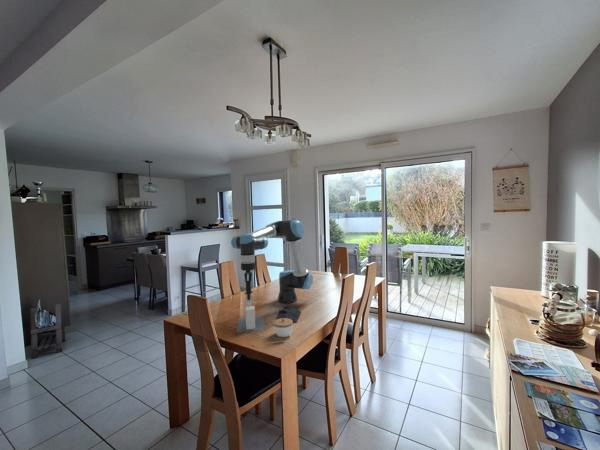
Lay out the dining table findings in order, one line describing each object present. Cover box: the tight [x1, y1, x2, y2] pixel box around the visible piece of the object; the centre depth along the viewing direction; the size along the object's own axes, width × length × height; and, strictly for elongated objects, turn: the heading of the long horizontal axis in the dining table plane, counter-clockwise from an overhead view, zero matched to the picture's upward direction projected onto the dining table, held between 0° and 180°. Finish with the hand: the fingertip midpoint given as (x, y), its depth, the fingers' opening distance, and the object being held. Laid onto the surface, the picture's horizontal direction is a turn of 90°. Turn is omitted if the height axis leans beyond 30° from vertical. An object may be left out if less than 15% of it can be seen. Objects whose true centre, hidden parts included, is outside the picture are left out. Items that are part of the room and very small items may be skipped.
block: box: [245, 305, 256, 330], centre depth 158 cm, size 5×6×12 cm
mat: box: [235, 315, 266, 334], centre depth 164 cm, size 16×22×1 cm
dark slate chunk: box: [276, 304, 302, 324], centre depth 176 cm, size 15×22×5 cm
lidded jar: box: [273, 318, 294, 338], centre depth 148 cm, size 11×11×9 cm
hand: (249, 305), depth 148 cm, fingers closed
